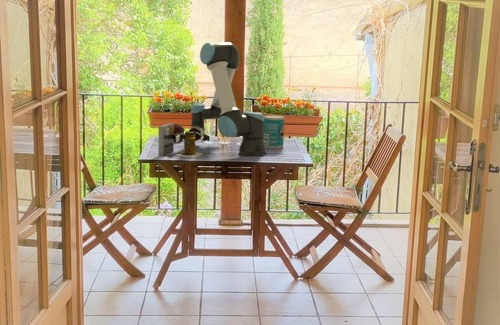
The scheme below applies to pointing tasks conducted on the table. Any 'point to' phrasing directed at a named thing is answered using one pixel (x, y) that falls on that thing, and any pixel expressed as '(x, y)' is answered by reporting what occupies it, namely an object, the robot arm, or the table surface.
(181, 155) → the tile
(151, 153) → the table surface
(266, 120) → the food can
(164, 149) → the breaker box
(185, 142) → the condiment
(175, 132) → the muffin
